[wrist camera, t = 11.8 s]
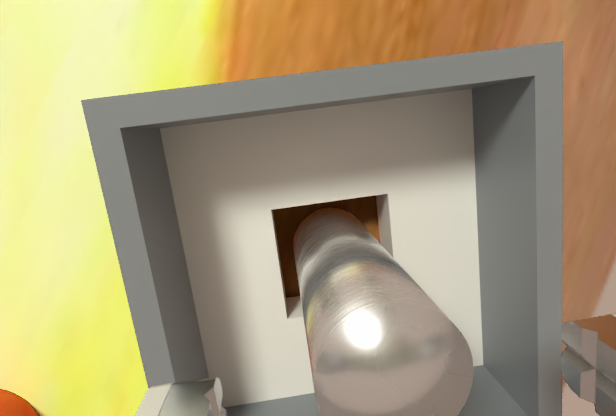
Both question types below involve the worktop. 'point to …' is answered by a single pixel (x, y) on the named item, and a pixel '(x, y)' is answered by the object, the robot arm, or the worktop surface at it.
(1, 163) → the worktop surface
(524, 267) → the box
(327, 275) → the peg
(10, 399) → the paper cup
